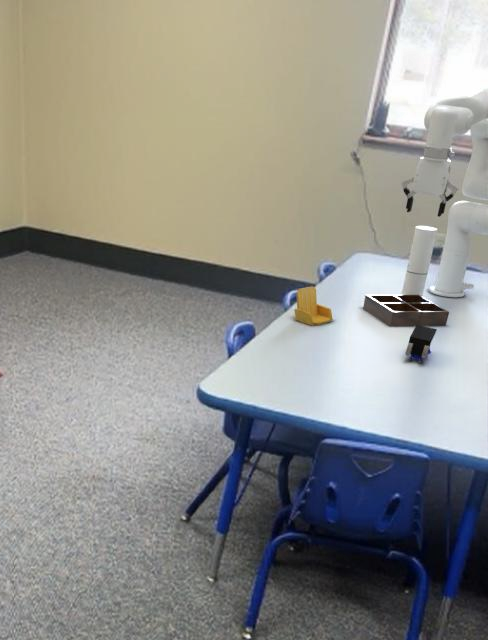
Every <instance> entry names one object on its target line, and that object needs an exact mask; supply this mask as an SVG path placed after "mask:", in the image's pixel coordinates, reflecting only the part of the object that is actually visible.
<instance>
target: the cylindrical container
mask: <svg viewBox="0 0 488 640" xmlns="http://www.w3.org/2000/svg"><path fill="white" fill-rule="evenodd" d="M437 233H438V228H436V227H434V226H428V225H417V226H415V228H414V234H413V238H412V243H411V248H410V252H409V258H408V262H407V267H406V271H405V276H404V280H403V284H402V290H401V294H400V295H420V296H422V297H424V291H425V286H426V282H427V279H428V275H429V274H428V273H429V269H430V264H431V261H432V256H433V252H434V248H435V247H434V246H435V242H436V239H437Z"/></svg>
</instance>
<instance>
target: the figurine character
mask: <svg viewBox="0 0 488 640" xmlns="http://www.w3.org/2000/svg"><path fill="white" fill-rule="evenodd" d="M437 331H438V330H437V328H433V327H430V326H419V325H416V326H414V329H413V331H412V332H411V334H410V336H409V340H408V343H407V346H406V349H405V355H406V356H409V358H408V361H409V362H412V361H413V359H414V360H419V361H418V364H421V363H422V361H423V359H427V358H428V355H430V354H432V351H431V344H432V341H433V340H434V338H435V336H436V333H437Z"/></svg>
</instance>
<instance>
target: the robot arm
mask: <svg viewBox="0 0 488 640" xmlns="http://www.w3.org/2000/svg"><path fill="white" fill-rule="evenodd" d="M423 125H424V129H426V131H428V132H427V136H426V141H425V146H424V150H423V155H422V156H421V157H420V159H419V162H418V165H417V167H416V170H415V174H414V176H413V177H411V178H408V179H405V180H403V181H402V182H401V186H402V190H403V193H404V195H405V196H406V198H407V200H406V205H405V210H406V213H410V212H411V211H412V209H413V204H414V195H415V194H421V195H428V196H435V197H436V196H437V197H439V198H440V200H441V202H440V203H439V206H438V212H437V217H439V218H440V217H441V216H442V215H444V213H445V210H446V205H447V202H449V201H450V200H451V199H453V198H454V197H455V195H456V194H457V192H458V191H459V188H458V187H457V185H455V184H454V183H452V182H451V181H450V175H451V168H452V167H451V165H452V160H451V159H450V158H451V157H454V156H455V153H456V152H455V151H453V150H452V144H453V141H454V140H453V139H454V136H463V135H465V134H467V133H468V132H469V131H470V138H471V146H472V149H471V150H472V151H471V156H470V160H469V163H468V166H467V169H466V173H465V175H464V178H463V182H462V187H461V193H462V195H463V196H464V197H467V198H470V199H475V200H480V201H481V200H482V201H488V88H483V89H480V90H478V91H476V92H474V93H471V94H470V95H465V96H459V97H453V98H452V97H451V98H445V99H442V100H438V101H436V102H434V103H433V104H431V106H429V107H428V109H427V111H426V112H425V115H424V118H423ZM411 183H412V187H411V189H412V190H410V189H409V187H408V185H410V184H411ZM448 188H449V190H451V192H450V194H448V195H447V194H446V193H447V192H448V191H447V190H448ZM470 233H473V234H479V235H485V236H488V204H486V203H479V202H473V201H468V200H460V201H457V202H454V203H453V204H452V205H451V206H450V208H449V211H448V216H447V229H446V234H445V235H446V236H445V240H444V244H443V249H442V254H441V257H440V262H439V266H438V270H437V275H436V279H435V283H434V285H433V286H430V287H429V292H430V293H431V294H434V295H436V296H441V297H444V298H445V297H447V298H463V297H464V296H465V294H466V292H465V290H473V289H474V286H475V285H474V283H467V282H466V281H464V280H465V276H466V271H467V268H468V264H469V259H470V256H471V251H472V248H473V242H472V238H471V235H470Z"/></svg>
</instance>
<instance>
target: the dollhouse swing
mask: <svg viewBox="0 0 488 640" xmlns="http://www.w3.org/2000/svg"><path fill="white" fill-rule="evenodd" d="M295 295H296V308H294V317H295V321H296V322H300V323H303V324H305V325H309V326H311V327H313V326H320V325H323V324H324V325H325V324H328V323H331V322H332V321H334V320H333V313H332V308H330V307H328V306H325V305H322V304H318V302H317V299H318V298H317V289H316V287H315V286H307V287H302V288H298V289H297V291H296V293H295Z"/></svg>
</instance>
